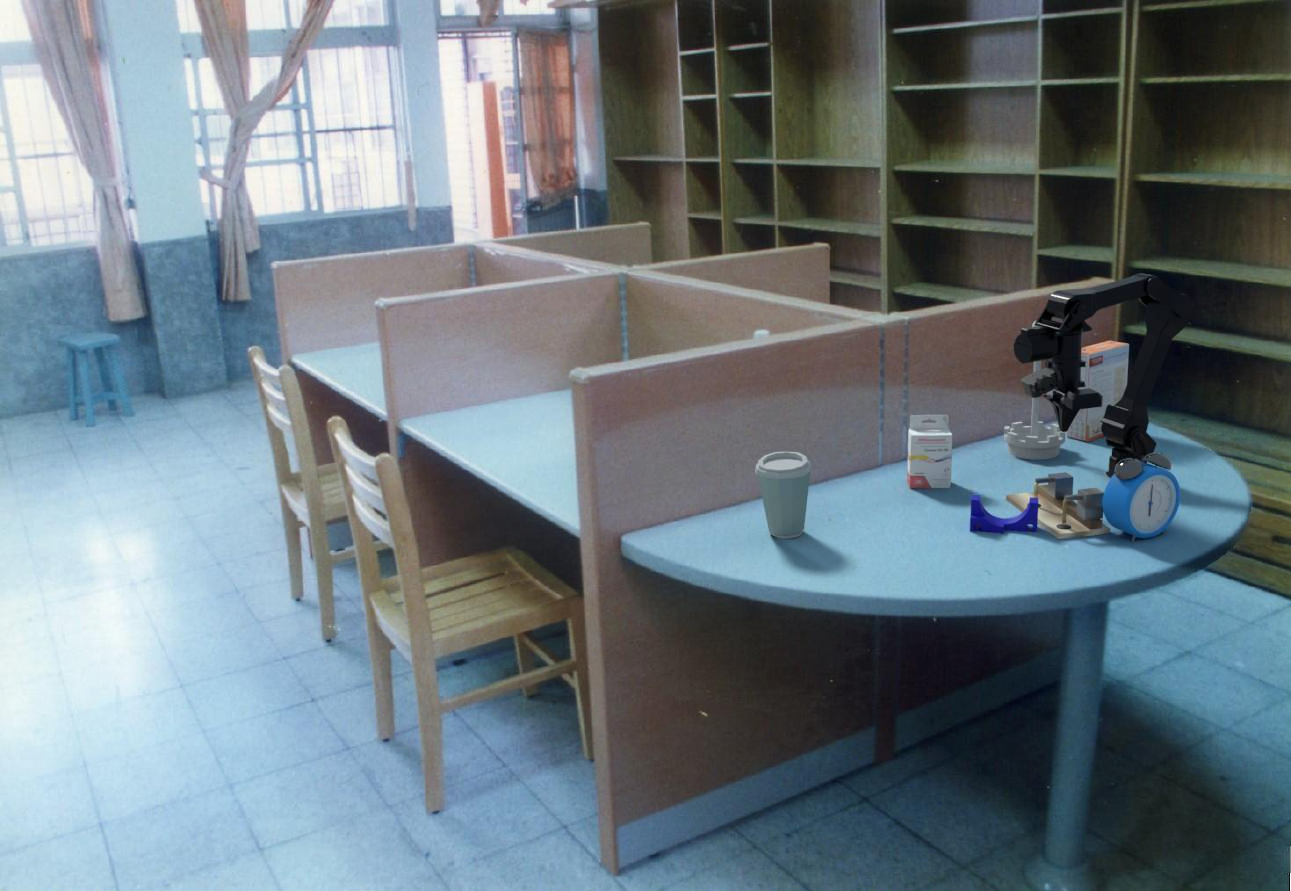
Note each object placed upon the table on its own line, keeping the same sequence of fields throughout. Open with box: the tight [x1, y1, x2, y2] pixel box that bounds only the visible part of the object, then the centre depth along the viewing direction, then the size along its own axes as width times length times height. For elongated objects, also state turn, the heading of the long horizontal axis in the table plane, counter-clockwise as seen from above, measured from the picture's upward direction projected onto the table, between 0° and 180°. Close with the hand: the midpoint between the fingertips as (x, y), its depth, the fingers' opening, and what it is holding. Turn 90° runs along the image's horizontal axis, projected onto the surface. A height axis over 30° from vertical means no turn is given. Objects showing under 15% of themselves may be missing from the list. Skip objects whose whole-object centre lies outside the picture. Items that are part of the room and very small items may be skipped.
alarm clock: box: [1103, 452, 1181, 542], centre depth 215 cm, size 13×6×15 cm, turn 113°
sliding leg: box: [1033, 471, 1074, 498], centre depth 230 cm, size 7×3×5 cm, turn 98°
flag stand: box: [1003, 320, 1067, 461], centre depth 261 cm, size 13×13×30 cm
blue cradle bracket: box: [969, 493, 1038, 534], centre depth 222 cm, size 12×4×6 cm, turn 73°
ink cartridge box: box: [906, 414, 953, 489], centre depth 246 cm, size 9×5×15 cm, turn 84°
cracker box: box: [1066, 340, 1130, 443], centre depth 272 cm, size 14×6×21 cm, turn 123°
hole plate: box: [1005, 484, 1111, 540], centre depth 227 cm, size 10×22×8 cm, turn 8°
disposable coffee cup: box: [754, 450, 813, 540], centre depth 225 cm, size 11×11×15 cm
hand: (1063, 431), depth 237 cm, fingers closed
